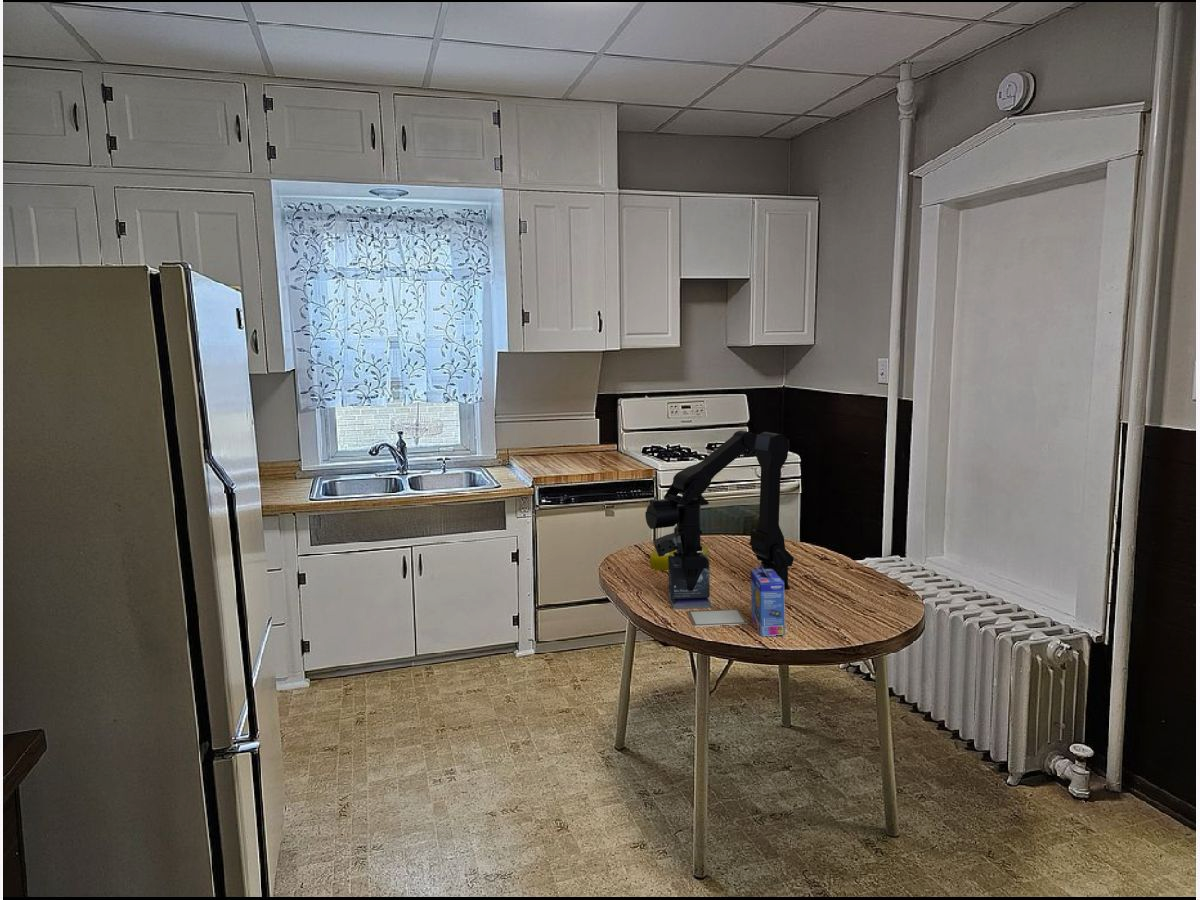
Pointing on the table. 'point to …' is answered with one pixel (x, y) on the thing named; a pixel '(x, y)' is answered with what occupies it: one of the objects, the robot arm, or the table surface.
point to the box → (679, 582)
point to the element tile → (662, 561)
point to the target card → (716, 617)
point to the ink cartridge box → (767, 602)
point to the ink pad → (689, 603)
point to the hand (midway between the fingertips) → (688, 586)
